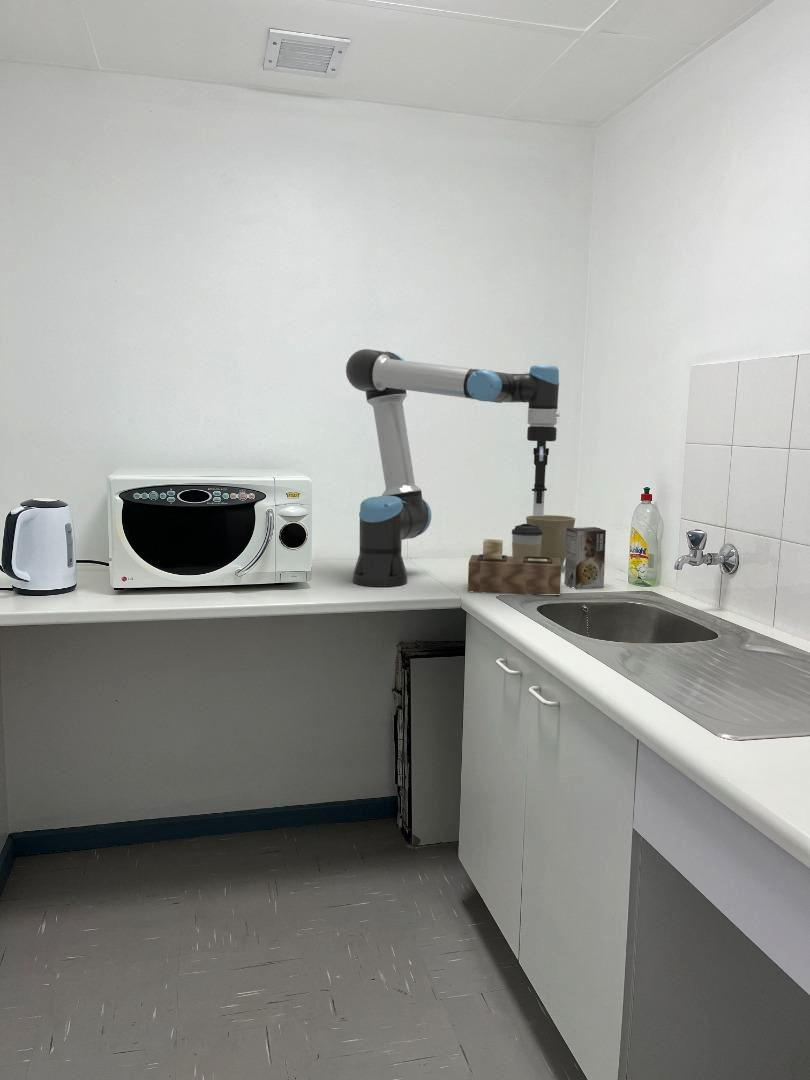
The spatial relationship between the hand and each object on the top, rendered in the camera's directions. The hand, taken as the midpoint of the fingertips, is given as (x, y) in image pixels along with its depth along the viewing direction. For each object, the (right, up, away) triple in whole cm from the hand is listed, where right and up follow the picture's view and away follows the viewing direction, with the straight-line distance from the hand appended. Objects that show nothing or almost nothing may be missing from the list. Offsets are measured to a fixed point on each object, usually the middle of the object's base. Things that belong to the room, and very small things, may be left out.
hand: (538, 515), depth 219 cm
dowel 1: (-12, -13, +4) cm, 18 cm away
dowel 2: (0, -18, +3) cm, 19 cm away
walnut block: (-6, -20, +4) cm, 21 cm away
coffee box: (+14, -19, +10) cm, 26 cm away
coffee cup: (0, -17, +24) cm, 29 cm away
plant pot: (+9, -15, +37) cm, 41 cm away
